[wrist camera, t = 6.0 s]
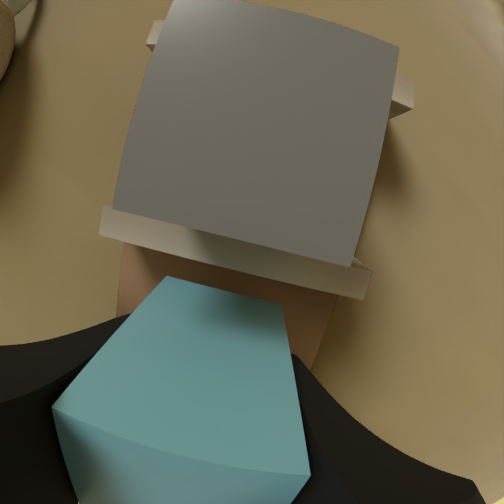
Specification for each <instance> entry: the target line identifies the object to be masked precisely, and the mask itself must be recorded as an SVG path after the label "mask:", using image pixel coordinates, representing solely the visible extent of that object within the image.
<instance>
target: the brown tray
mask: <svg viewBox="0 0 504 504" xmlns="http://www.w3.org/2000/svg"><path fill="white" fill-rule="evenodd" d="M164 22H165V21H163V20H155V22H154V24H153V27H152V29H151V31H150V34H149V36H148V39H147V42H146V45H147V46H148V47H149V49H150V50H151V51H152V52H153V50H154V48H155V45H156V42H157V40H158V37H159V34H160V32H161V29H162V27H163V24H164ZM416 85H417V84H416V83H414V82H412V81H410V80H408V79H405V78H403V77H401V76H399V75H395V81H394V88H393V94H392V100H391V105H390V111H389V116H388V120H389V119H391V118H393V117H396V116H398V115H400V114H403V113H405V112H407V111H409V110H412V109H413V106H414V99H415V92H416ZM112 207H113V204H107V205H103V207H102V214H101V220H100V227H99V235H101V236H105V237H108V238H112V239H116V240H120V241H123V242H124V249H123V256H122V264H121V272H120V281H119V291H118V301H117V313H116V318H117V317H120V316H123V315H126V314H129V313H131V314H132V313H133V312H134V311H135V309H136V308H137V307H138V306H139V305H140V304H141V303H142V302H143V301H144V300H145V299H146V297H147V296H148V295H149V294H150V293H151V292H152V291H153V290H154V289H155V288H156V287H157V286H158V285H159V283H160V282H161V281H162V280H163V279H164V278H165V277H166V276H170V277H173V278H177V279H181V280H185V281H189V282H193V283H196V284H200V285H204V286H208V287H212V288H216V289H220V290H224V291H228V292H232V293H236V294H241V295H245V296H249V297H253V298H257V299H262V300H266V301H270V302H275V303H279V304H282V309H283V315H284V320H285V326H286V331H287V337H288V342H289V348H290V354H296V355H297V356H298V357H299V359H300V360H301V361H302V362H303V363H304V365H305V366H306V367H307V368H308V369H309V371H310V370H311V367H312V365H313V362H314V360H315V357H316V355H317V352H318V350H319V347H320V344H321V342H322V339H323V337H324V334H325V331H326V328H327V326H328V323H329V320H330V317H331V315H332V312H333V309H334V306H335V303H336V300H337V298H338V295H342V296H346V297H351V298H355V299H360V300H363V299H364V296H365V294H366V291H367V288H368V285H369V282H370V279H371V276H372V273H373V272H372V271H371V270H370V269H369V268H368V267H366V266H365V265H364V264H363V263H361V262H360V261H359V260H358V259H356V258H355V257H354V256H353V260H352V263H351V266H350V268H349V267H345V266H341V265H337V264H333V263H330V262H326V261H322V260H318V259H314V258H310V257H306V256H302V255H298V254H294V253H290V252H286V251H282V250H278V249H274V248H270V247H266V246H262V245H258V244H254V243H250V242H246V241H242V240H238V239H233V238H229V237H225V236H221V235H217V234H213V233H209V232H205V231H201V230H197V229H193V228H189V227H184V226H180V225H176V224H172V223H168V222H164V221H160V220H155V219H151V218H147V217H143V216H139V215H135V214H130V213H126V212H122V211H118V210H114V209H112Z"/></svg>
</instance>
